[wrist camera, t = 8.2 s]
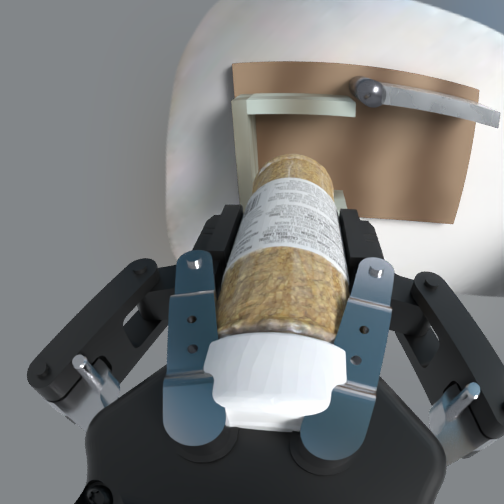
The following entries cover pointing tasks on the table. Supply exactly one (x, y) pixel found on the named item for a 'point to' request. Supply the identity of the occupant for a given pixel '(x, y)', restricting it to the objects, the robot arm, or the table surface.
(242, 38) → the table surface
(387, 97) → the bar
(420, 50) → the table surface
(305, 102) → the cradle board
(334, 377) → the tan spice jar
